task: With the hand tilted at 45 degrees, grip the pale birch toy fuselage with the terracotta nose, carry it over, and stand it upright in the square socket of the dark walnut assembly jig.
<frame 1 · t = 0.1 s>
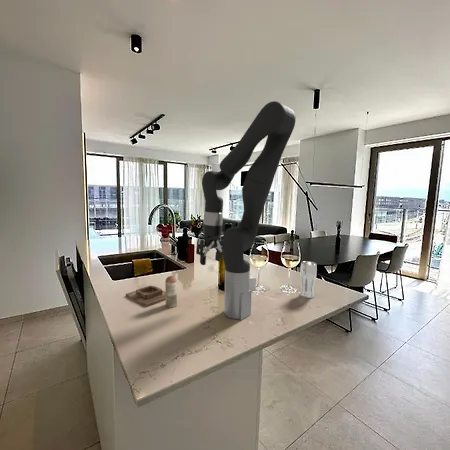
hand: (210, 262, 104), 17 cm above the counter, tool pointing down, fingers open, 8 cm apart
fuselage: (171, 305, 104), on the counter
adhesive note: (247, 289, 124), on the counter
cradle: (149, 296, 113), on the counter
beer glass: (306, 296, 116), on the counter
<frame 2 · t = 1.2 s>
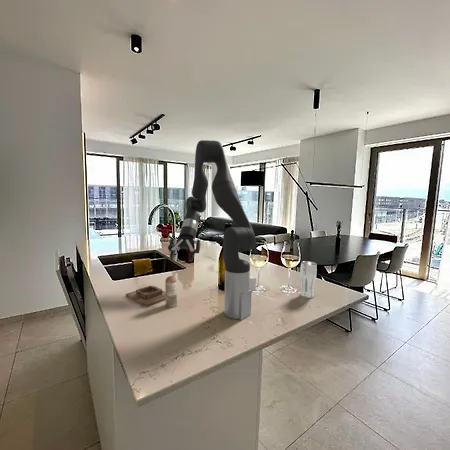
hand: (180, 259, 114), 16 cm above the counter, tool tilted 45°, fingers open, 8 cm apart
nothing on the counter moved.
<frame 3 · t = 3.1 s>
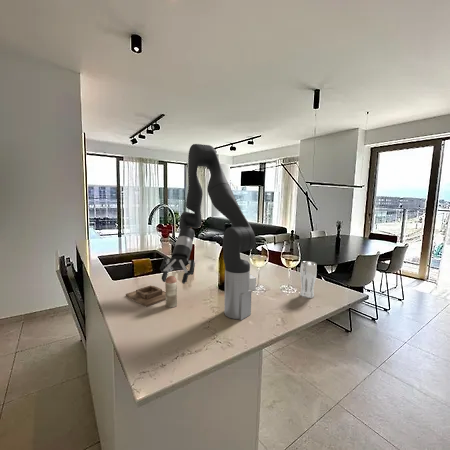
hand: (173, 282, 106), 9 cm above the counter, tool tilted 45°, fingers open, 8 cm apart
nothing on the counter moved.
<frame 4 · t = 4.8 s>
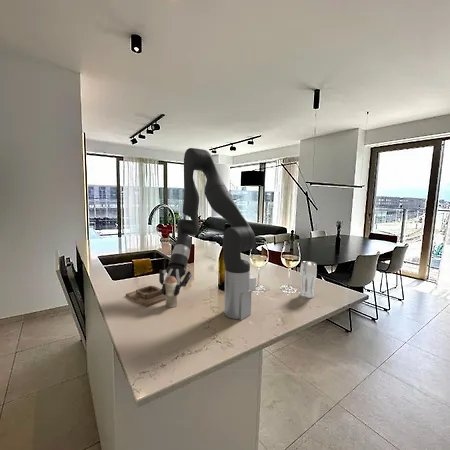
hand: (169, 294, 102), 5 cm above the counter, tool tilted 45°, fingers closed on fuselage, 4 cm apart
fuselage: (171, 305, 104), on the counter, touching gripper
everything else where it was.
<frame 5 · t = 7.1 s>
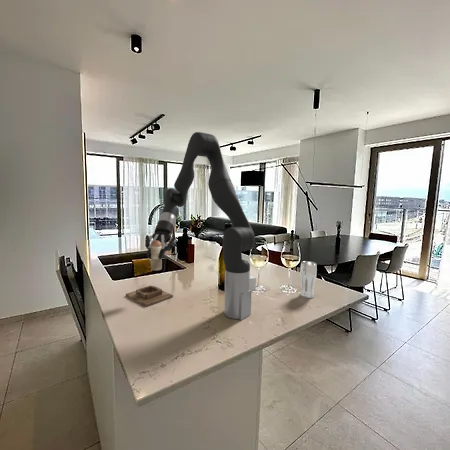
hand: (154, 257, 106), 19 cm above the counter, tool tilted 45°, fingers closed on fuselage, 4 cm apart
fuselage: (156, 268, 109), point 13 cm above the counter, touching gripper
everything else where it was.
when the fingers open (8 cm above the counter, at t = 9.3 s): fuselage drops 1 cm, resting on cradle.
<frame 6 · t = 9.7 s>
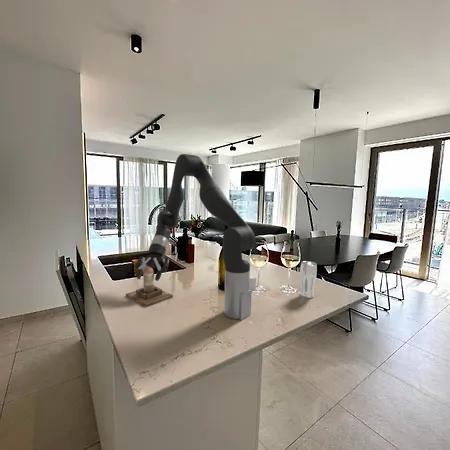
hand: (147, 279, 110), 8 cm above the counter, tool tilted 45°, fingers open, 8 cm apart
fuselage: (149, 294, 113), point 1 cm above the counter, touching cradle
everything else where it was.
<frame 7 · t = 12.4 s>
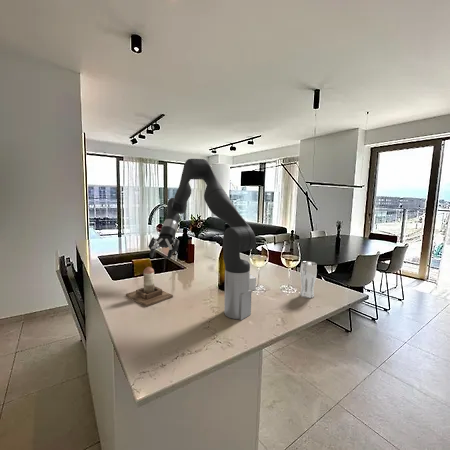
hand: (159, 257, 122), 15 cm above the counter, tool tilted 45°, fingers open, 8 cm apart
nothing on the counter moved.
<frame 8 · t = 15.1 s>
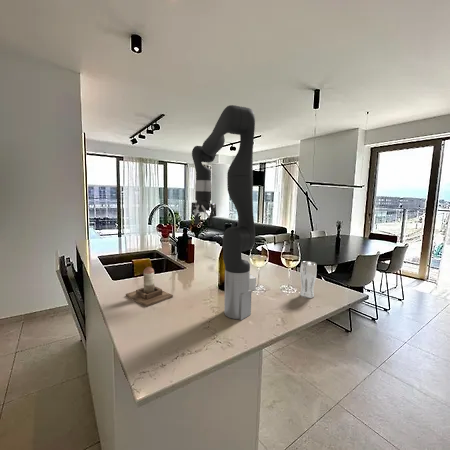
hand: (203, 224, 123), 30 cm above the counter, tool pointing down, fingers open, 8 cm apart
nothing on the counter moved.
at the end: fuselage 0.1 cm off-centre on the cradle, point 1.0 cm above the cradle's base; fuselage tilted 0°; the gripper is holding nothing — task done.
